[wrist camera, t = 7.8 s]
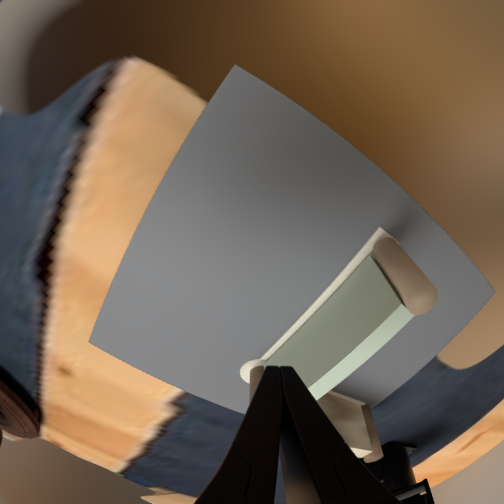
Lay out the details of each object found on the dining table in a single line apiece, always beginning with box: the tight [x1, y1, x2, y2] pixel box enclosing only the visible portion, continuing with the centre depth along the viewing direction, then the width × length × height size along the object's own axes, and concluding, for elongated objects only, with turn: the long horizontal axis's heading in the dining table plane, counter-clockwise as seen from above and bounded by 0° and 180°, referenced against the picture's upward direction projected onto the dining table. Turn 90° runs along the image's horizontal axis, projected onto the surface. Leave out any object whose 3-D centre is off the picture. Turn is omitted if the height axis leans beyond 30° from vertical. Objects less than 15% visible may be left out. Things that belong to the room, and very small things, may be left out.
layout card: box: [89, 65, 496, 414], centre depth 20 cm, size 24×21×1 cm
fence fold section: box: [264, 237, 438, 401], centre depth 16 cm, size 12×2×5 cm, turn 146°
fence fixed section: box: [249, 366, 383, 463], centre depth 20 cm, size 13×2×6 cm, turn 57°
